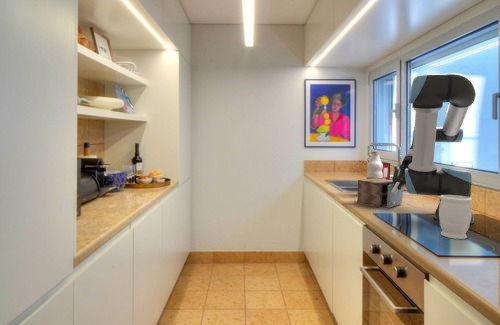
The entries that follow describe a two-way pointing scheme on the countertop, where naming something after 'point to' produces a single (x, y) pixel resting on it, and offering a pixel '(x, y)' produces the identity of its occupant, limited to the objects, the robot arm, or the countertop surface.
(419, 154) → the robot arm
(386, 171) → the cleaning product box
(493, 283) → the countertop surface
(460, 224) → the jar
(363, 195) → the cabinet
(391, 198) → the door
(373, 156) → the white ceramic bottle shape
